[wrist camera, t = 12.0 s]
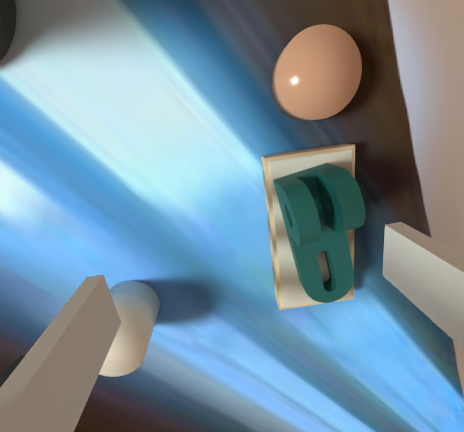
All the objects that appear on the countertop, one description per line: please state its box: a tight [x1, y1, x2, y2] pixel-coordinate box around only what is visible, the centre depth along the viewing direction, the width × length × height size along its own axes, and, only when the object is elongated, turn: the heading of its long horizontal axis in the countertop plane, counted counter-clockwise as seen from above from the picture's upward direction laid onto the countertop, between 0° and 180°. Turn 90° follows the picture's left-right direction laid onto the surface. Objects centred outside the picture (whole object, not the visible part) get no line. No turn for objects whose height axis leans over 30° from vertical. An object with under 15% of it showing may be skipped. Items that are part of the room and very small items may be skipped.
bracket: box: [273, 163, 365, 303], centre depth 31 cm, size 18×7×8 cm, turn 17°
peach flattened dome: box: [271, 24, 362, 121], centre depth 30 cm, size 9×9×4 cm
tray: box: [261, 144, 355, 310], centre depth 36 cm, size 22×11×3 cm, turn 8°
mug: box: [99, 280, 160, 376], centre depth 36 cm, size 8×11×9 cm
